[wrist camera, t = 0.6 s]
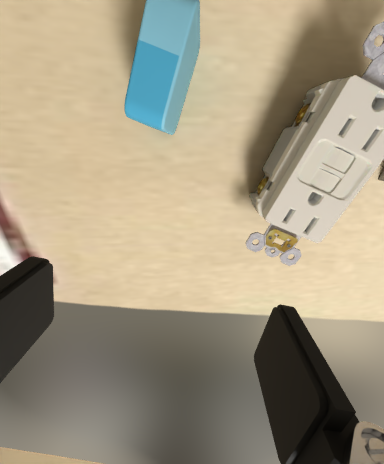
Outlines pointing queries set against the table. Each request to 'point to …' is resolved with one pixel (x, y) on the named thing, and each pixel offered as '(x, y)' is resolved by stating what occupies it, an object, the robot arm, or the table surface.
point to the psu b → (382, 175)
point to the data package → (163, 63)
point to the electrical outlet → (323, 158)
